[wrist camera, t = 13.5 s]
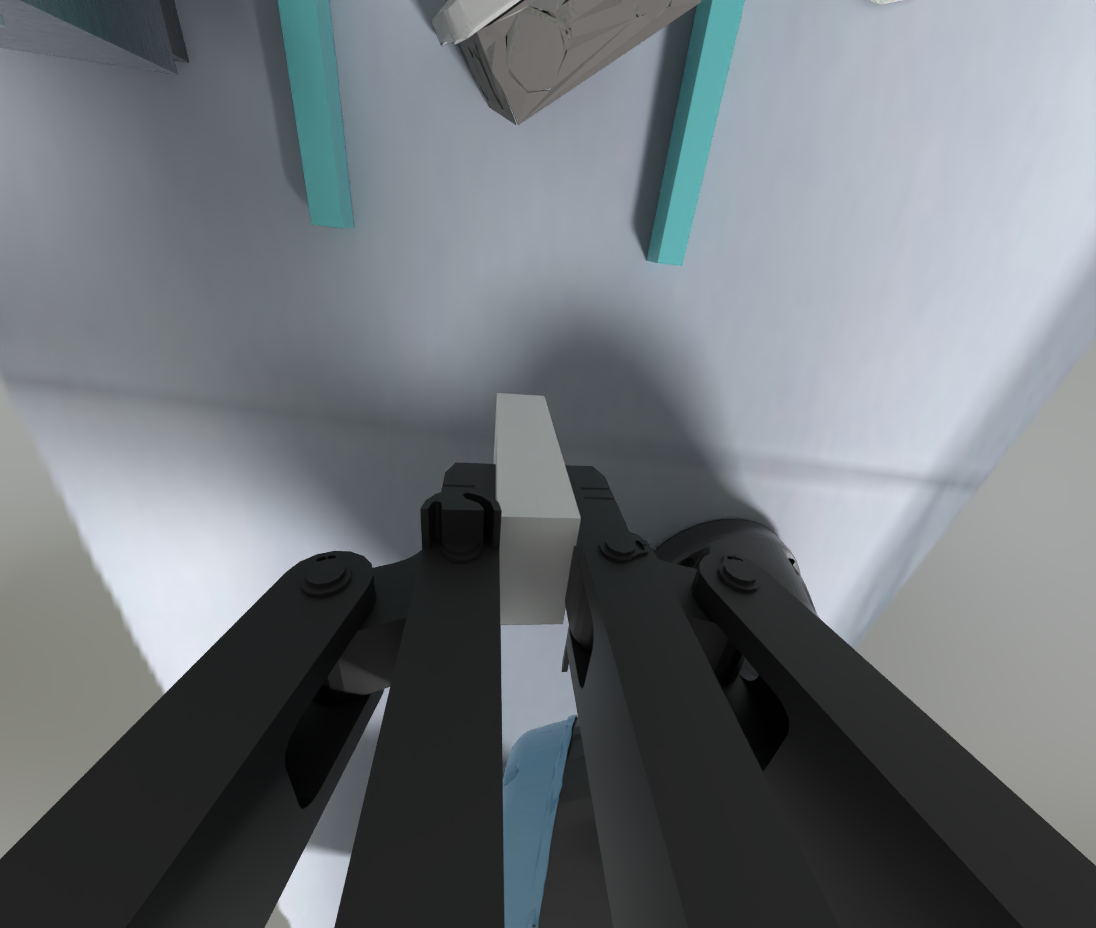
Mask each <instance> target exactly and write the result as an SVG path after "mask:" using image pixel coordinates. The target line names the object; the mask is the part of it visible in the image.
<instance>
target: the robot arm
mask: <svg viewBox="0 0 1096 928" xmlns="http://www.w3.org/2000/svg"><path fill="white" fill-rule="evenodd" d="M420 510H421V530H422V550H421V551H420V552H418V553H417V554H416V555H414V556H412V557H410V558H408V559H406V560H403V561H400V562H396V563H393V564H388V565H384V566H379V567H375V568H372V564H371V563H370V562H369V561H368V560H367V559H366V558H365V557H364V556H362V555H359V554H356V553H353V552H349V551H332V552H327V553H322V554H317V555H314V556H312V557H310V558H307V559H305V560H303V561H300V562H299V563H298V564H296V565H295V566H294V567H292V568H291V569H290V570H288V571H287V572H286V573H285V574H284V575H283V576H282V577H281V578H280V579H279V580H278V581H277V582H276V583H275V584H274V585H273V586H272V587H271V588H270V589H269V590H268V591H267V592H266V593H265V594H264V595H263V596H262V597H261V598H260V599H259V600H258V601H257V602H256V603H255V604H254V605H253V606H252V607H251V608H250V609H249V610H248V611H247V612H246V613H245V614H244V615H243V616H242V617H241V618H240V619H239V620H238V621H237V622H236V623H235V624H234V625H233V626H232V627H231V628H230V629H229V630H228V631H227V632H226V633H225V634H224V635H223V636H222V637H221V638H220V639H219V640H218V641H217V642H216V643H215V644H214V645H213V646H212V647H211V648H210V649H209V650H208V651H207V652H206V653H205V654H204V655H203V656H202V657H201V658H200V659H199V660H198V661H197V662H196V663H195V664H194V665H193V666H192V667H191V668H190V669H189V670H188V671H187V672H186V673H185V674H184V675H183V676H182V677H181V678H180V679H179V680H178V681H177V682H176V683H175V684H174V685H173V686H172V687H171V688H170V689H169V690H168V691H167V692H166V693H165V694H164V695H163V696H162V697H161V698H160V699H159V700H158V701H157V702H156V703H155V704H154V705H153V706H152V707H151V709H149V710H148V711H147V712H146V713H145V714H144V715H143V716H142V717H141V719H139V720H138V721H137V722H136V724H134V725H133V726H132V727H131V728H130V729H129V730H128V731H127V733H125V734H124V735H123V736H122V737H121V738H120V740H118V741H117V742H116V744H115V745H113V746H112V747H111V749H110V750H109V751H108V752H107V753H106V754H105V755H104V756H103V757H102V758H101V759H100V760H99V761H98V762H97V763H96V764H95V765H94V766H93V767H92V768H91V769H90V770H89V771H88V772H87V773H86V774H85V775H84V776H83V777H82V778H81V779H80V780H79V781H78V782H77V783H76V784H75V785H74V786H73V787H72V788H71V789H70V790H69V791H68V792H67V793H66V794H65V795H64V796H63V797H62V798H61V799H60V800H59V801H58V802H57V803H56V804H55V805H54V806H53V807H52V808H51V809H50V810H49V811H48V812H47V813H46V814H45V815H44V816H43V817H42V818H41V819H40V820H39V821H38V822H37V823H36V824H35V825H34V826H33V827H32V828H31V829H30V830H29V831H28V832H27V833H26V834H25V835H24V836H23V837H22V838H21V839H20V840H19V841H18V842H17V843H16V844H15V845H14V846H13V847H12V848H11V849H10V850H9V851H8V852H7V853H6V854H5V855H4V856H3V857H2V858H1V859H0V928H264V927H265V925H266V923H267V922H268V920H269V918H270V916H271V913H272V912H273V910H274V908H275V906H276V904H277V902H278V900H279V898H280V896H281V894H282V892H283V890H284V888H285V886H286V884H287V882H288V880H289V878H290V876H291V874H292V872H293V870H294V868H295V866H296V864H297V862H298V860H299V858H300V856H301V854H302V852H303V850H304V849H305V847H306V845H307V843H308V841H309V839H310V837H311V835H312V833H313V831H314V829H315V827H316V825H317V823H318V821H319V819H320V817H321V815H322V813H323V811H324V809H325V807H326V805H327V803H328V801H329V799H330V797H331V795H332V793H333V791H334V789H335V787H336V785H337V783H338V781H339V779H340V777H341V775H342V773H343V771H344V770H345V768H346V766H347V764H348V762H349V760H350V758H351V756H352V754H353V752H354V750H355V748H356V746H357V744H358V742H359V740H360V738H361V736H362V734H363V732H364V730H365V728H366V726H367V724H368V722H369V720H370V718H371V716H372V714H373V712H374V710H375V708H376V706H377V704H378V702H379V700H380V698H381V696H382V694H383V691H384V689H385V688H388V687H390V690H389V695H388V699H387V703H386V708H385V712H384V716H383V721H382V725H381V729H380V734H379V738H378V742H377V746H376V751H375V755H374V759H373V764H372V768H371V772H370V777H369V781H368V785H367V790H366V794H365V798H364V802H363V807H362V811H361V815H360V820H359V824H358V828H357V833H356V837H355V841H354V846H353V850H352V854H351V858H350V863H349V867H348V871H347V876H346V880H345V884H344V889H343V893H342V897H341V902H340V906H339V910H338V914H337V919H336V923H335V927H334V928H1096V866H1095V865H1094V864H1093V863H1092V862H1091V861H1090V860H1088V858H1086V857H1085V856H1084V855H1083V854H1082V853H1081V852H1080V851H1078V849H1076V848H1075V847H1074V846H1073V845H1072V844H1071V843H1070V842H1069V841H1068V840H1066V839H1065V838H1064V837H1063V836H1062V835H1061V834H1060V833H1058V832H1057V831H1056V830H1055V829H1054V828H1053V827H1052V826H1051V825H1049V823H1047V822H1046V821H1045V820H1044V819H1043V818H1042V817H1041V816H1040V815H1038V814H1037V813H1036V812H1035V811H1034V810H1033V809H1032V808H1030V806H1028V805H1027V804H1026V803H1025V802H1024V801H1023V800H1022V799H1021V798H1019V797H1018V796H1017V795H1016V794H1015V793H1014V792H1013V791H1012V790H1011V789H1009V788H1008V787H1007V786H1006V785H1005V784H1004V783H1003V782H1002V781H1000V780H999V779H998V778H997V777H996V776H995V775H994V774H993V773H992V772H990V771H989V770H988V769H987V768H986V767H985V766H984V765H983V764H981V763H980V762H979V761H978V760H977V759H976V758H975V757H974V756H973V755H971V754H970V753H969V752H968V751H967V750H966V749H965V748H963V747H962V746H961V745H960V744H959V743H958V742H957V741H956V740H955V739H953V738H952V737H951V736H950V735H949V734H948V733H947V732H946V731H945V730H943V729H942V728H941V727H940V726H939V725H938V724H937V723H935V721H933V720H932V719H931V718H930V717H929V716H928V715H927V714H926V713H924V712H923V711H922V710H921V709H920V708H919V707H918V706H916V704H914V703H913V702H912V701H911V700H910V699H909V698H908V697H907V696H905V695H904V694H903V693H902V692H901V691H900V690H899V689H898V688H896V687H895V686H894V685H893V684H892V683H891V682H890V681H888V679H886V678H885V677H884V676H883V675H882V674H881V673H880V672H879V671H878V670H876V669H875V668H874V667H873V666H872V665H871V664H870V663H869V662H867V661H866V660H865V659H864V658H863V657H862V656H861V655H860V654H858V653H857V652H856V651H855V650H854V649H853V648H852V647H851V646H850V645H848V644H847V643H846V642H845V641H844V640H843V639H842V638H841V637H839V636H838V635H837V634H836V633H835V632H834V631H833V630H832V629H831V628H829V627H828V626H827V625H826V624H825V623H824V622H823V621H822V620H821V619H820V618H819V617H818V615H817V613H816V610H815V608H814V605H813V603H812V600H811V597H810V595H809V592H808V590H807V588H806V585H805V583H804V581H803V579H802V577H801V575H800V570H799V566H798V564H797V561H796V559H795V557H794V556H793V554H792V553H791V551H790V550H789V549H788V548H787V546H786V545H785V544H784V543H783V542H782V541H781V540H780V539H779V538H778V536H777V535H776V534H775V533H774V532H772V531H771V530H770V529H768V528H767V527H765V526H763V525H761V524H758V523H755V522H751V521H746V520H736V519H731V520H719V521H713V522H708V523H704V524H701V525H698V526H695V527H693V528H690V529H688V530H685V531H683V532H681V533H679V534H678V535H676V536H674V537H673V538H671V539H670V540H668V541H667V542H665V543H664V544H663V545H661V546H660V547H659V548H658V549H657V550H656V551H655V552H654V551H653V549H652V548H651V547H650V545H649V544H648V543H647V541H645V540H644V539H642V538H641V537H639V536H638V535H636V534H634V533H631V532H629V530H628V528H627V526H626V523H625V521H624V519H623V517H622V514H621V512H620V510H619V508H618V506H617V503H616V501H615V500H614V497H613V494H612V492H611V490H610V488H609V485H608V483H607V481H606V479H605V477H604V476H603V475H602V474H601V473H600V472H598V471H597V470H596V469H595V468H594V467H593V466H567V465H565V464H564V460H563V457H562V453H561V450H560V447H559V443H558V440H557V437H556V433H555V430H554V427H553V423H552V420H551V417H550V413H549V410H548V407H547V403H546V400H545V396H539V395H523V394H507V393H497V400H496V421H495V443H494V464H479V463H455V464H454V465H453V466H452V467H451V468H450V469H449V470H448V471H446V472H445V477H444V481H443V487H442V491H441V493H437V494H435V495H434V496H432V497H430V498H429V499H427V500H426V501H425V503H424V504H423V506H422V507H421V509H420ZM565 608H566V611H567V616H568V621H569V629H568V634H567V640H566V645H565V651H564V656H563V662H562V672H567V670H568V665H570V671H571V677H572V683H573V689H574V695H575V701H576V707H577V713H578V717H577V715H571V716H569V717H568V719H567V720H564V721H561V722H557V723H554V724H550V725H547V726H543V727H540V728H536V729H533V730H530V731H528V732H526V733H525V734H523V735H522V736H521V737H520V738H519V739H518V740H517V742H516V743H515V745H514V746H513V748H512V750H511V752H510V754H509V757H508V760H507V763H506V767H505V771H504V776H503V775H502V701H501V628H500V625H533V624H563V620H564V614H565Z"/></svg>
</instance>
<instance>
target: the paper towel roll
mask: <svg viewBox="0 0 1096 928" xmlns="http://www.w3.org/2000/svg"><path fill="white" fill-rule="evenodd" d="M870 1H872V2H874V3H876V4H878V5H879V4H886V3H891V2H896V1H902V0H870Z"/></svg>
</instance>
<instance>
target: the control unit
mask: <svg viewBox="0 0 1096 928" xmlns="http://www.w3.org/2000/svg"><path fill="white" fill-rule="evenodd" d="M0 47H1V48H7V49H14V50H20V51H27V52H33V53H40V54H46V55H53V56H59V57H66V58H72V59H79V60H85V61H92V62H98V63H105V64H111V65H118V66H124V67H131V68H137V69H144V70H150V71H157V72H163V73H170V74H176V75H178V73H177V69H176V65H175V61H174V60H177V61H183V62H189V61H188V57H187V52H186V48H185V44H184V40H183V35H182V31H181V27H180V23H179V18H178V14H177V10H176V6H175V2H174V0H0Z"/></svg>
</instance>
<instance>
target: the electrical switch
mask: <svg viewBox="0 0 1096 928" xmlns="http://www.w3.org/2000/svg"><path fill="white" fill-rule="evenodd" d="M621 2H622V3H621ZM621 2H620V0H448V1H447V2H446V3H445V4H444V6H443V7H442V8H441V9H440V11H439V12H438V13H437V15H436V16H435V17H434V19H433V21H432V24H433V27H434V29H435V31H436V34H437V36H438V39H439V41H440V44H441V46H443V45H445V44H447V43H448V42H453V44H454V45H455V44H457V43H460V46H461V48H462V50H463V53H464V55H465V58H466V60H467V62H468V65H469V67H470V69H471V71H472V73H473V76H474V78H475V79H476V81H477V82H478V84H479V86H480V88H481V90H482V92H483V94H484V96H485V99H486V101H487V103H488V106H489V107H490V108H491V109H493V110H494V111H496V112H497V113H499V114H500V115H502V116H503V117H505V118H506V119H508V120H509V121H511V122H512V123H514V124H515V125H516V122H515V120H514V117H513V115H512V112H513V114H514V116H515V119H516V121H517V123H518V125H519V124H521V123H522V122H524V121H525V120H527V119H528V118H529V117H531V116H532V115H534V114H535V113H537V112H538V111H540V110H541V109H543V108H544V107H546V106H547V105H549V104H550V103H552V102H553V101H555V100H556V99H558V98H559V97H561V96H562V95H564V94H565V93H567V92H568V91H570V90H571V89H573V88H574V87H576V86H577V85H579V84H580V83H582V82H583V81H585V80H586V79H588V78H589V77H591V76H592V75H593V74H595V73H596V72H598V71H599V70H601V69H602V68H604V67H605V66H607V65H608V64H610V63H611V62H613V61H614V60H616V59H617V58H619V57H620V56H622V55H623V54H625V53H626V52H628V51H629V50H631V49H632V48H634V47H635V46H637V45H638V44H640V43H641V42H643V41H644V40H646V39H647V38H649V37H650V36H652V35H653V34H655V33H656V32H657V31H659V30H660V29H662V28H663V27H665V26H666V25H668V24H669V23H671V22H672V21H674V20H675V19H677V18H678V17H680V16H681V15H683V14H684V13H686V12H687V11H689V10H690V9H692V8H693V7H695V6H696V5H698V4H699V3H701V0H621ZM669 6H670V7H669ZM638 15H640V17H639V16H638ZM569 28H571V30H570V29H569ZM551 87H552V88H551ZM523 88H524V89H525V90H526V91H525V90H524V89H523ZM548 88H551V90H545V89H548ZM505 96H506V97H505ZM506 98H507V99H506ZM507 100H508V102H507ZM508 103H509V104H508ZM509 105H510V107H511V109H512V112H511V110H510V107H509Z"/></svg>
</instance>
